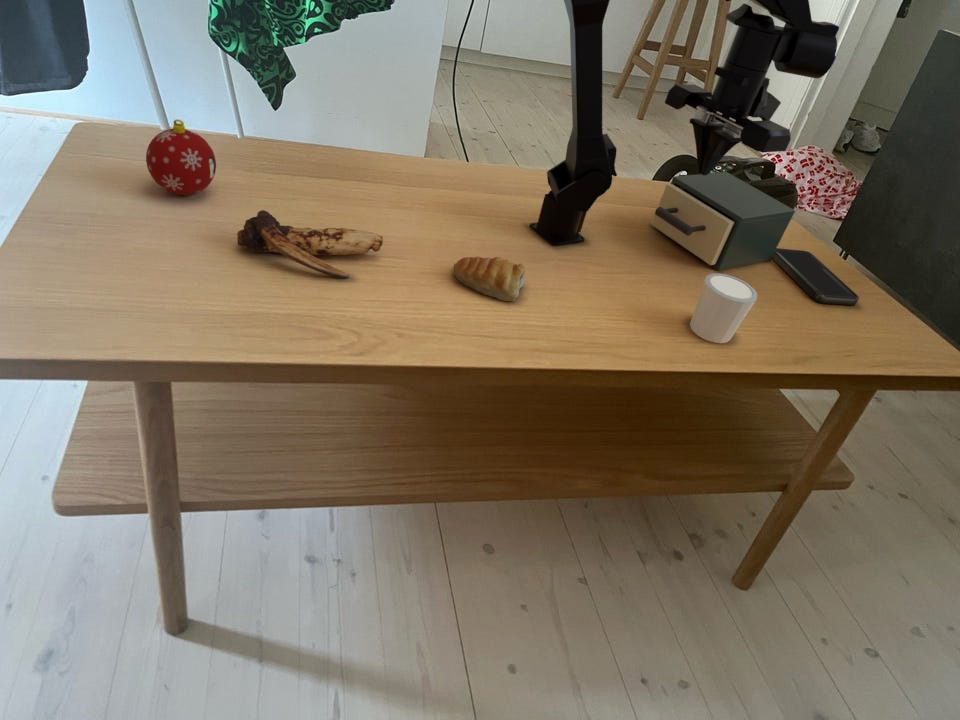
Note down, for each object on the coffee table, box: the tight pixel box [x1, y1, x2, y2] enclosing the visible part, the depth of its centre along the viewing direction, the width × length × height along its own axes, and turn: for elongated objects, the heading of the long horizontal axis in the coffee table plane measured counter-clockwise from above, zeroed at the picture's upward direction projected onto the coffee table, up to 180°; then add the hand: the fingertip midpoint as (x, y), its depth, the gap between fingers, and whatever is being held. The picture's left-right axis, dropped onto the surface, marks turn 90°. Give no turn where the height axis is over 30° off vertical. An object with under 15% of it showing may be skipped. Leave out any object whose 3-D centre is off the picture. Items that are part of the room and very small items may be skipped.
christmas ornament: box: [145, 119, 217, 196], centre depth 91 cm, size 9×9×10 cm
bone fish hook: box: [236, 209, 384, 279], centre depth 85 cm, size 9×5×18 cm
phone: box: [771, 247, 860, 306], centre depth 110 cm, size 8×1×15 cm
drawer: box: [651, 183, 736, 266], centre depth 109 cm, size 17×13×7 cm
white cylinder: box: [689, 272, 758, 344], centre depth 89 cm, size 7×7×7 cm
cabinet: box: [655, 171, 796, 272], centre depth 112 cm, size 14×15×9 cm
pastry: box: [452, 256, 526, 302], centre depth 89 cm, size 9×7×4 cm
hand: (702, 173), depth 101 cm, fingers closed
